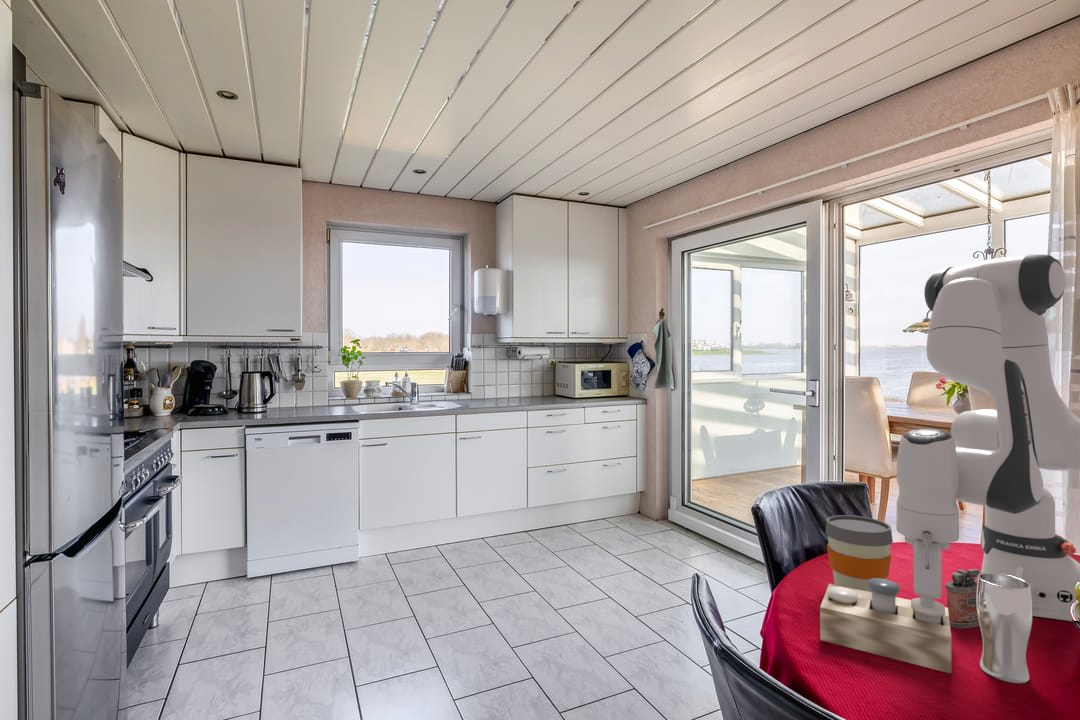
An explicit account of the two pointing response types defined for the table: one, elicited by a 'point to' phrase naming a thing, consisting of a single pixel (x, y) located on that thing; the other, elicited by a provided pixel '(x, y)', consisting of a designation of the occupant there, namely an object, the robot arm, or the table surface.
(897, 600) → the wooden peg holder
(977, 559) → the table surface
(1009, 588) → the beer glass
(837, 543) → the reusable coffee cup
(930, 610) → the plunger near
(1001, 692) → the table surface
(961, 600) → the lighter
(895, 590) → the plunger middle
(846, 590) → the plunger far
